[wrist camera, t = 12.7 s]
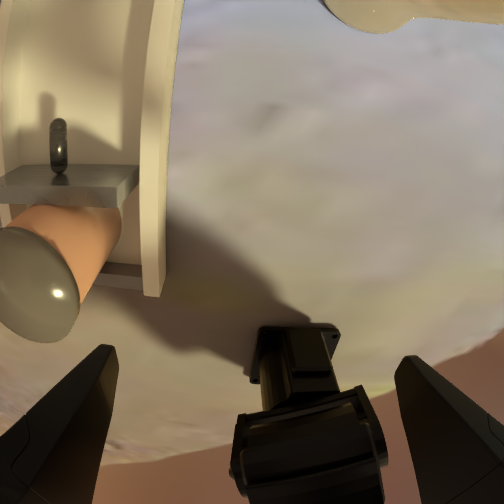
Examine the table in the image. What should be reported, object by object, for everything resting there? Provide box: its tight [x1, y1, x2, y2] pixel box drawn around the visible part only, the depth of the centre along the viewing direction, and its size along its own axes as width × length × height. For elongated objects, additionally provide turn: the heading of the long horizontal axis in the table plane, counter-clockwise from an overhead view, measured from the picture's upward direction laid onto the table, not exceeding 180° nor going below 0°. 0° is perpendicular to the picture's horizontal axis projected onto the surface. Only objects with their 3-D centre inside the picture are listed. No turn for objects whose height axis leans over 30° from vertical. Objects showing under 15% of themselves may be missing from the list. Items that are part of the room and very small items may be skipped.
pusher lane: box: [0, 0, 184, 297], centre depth 13 cm, size 20×11×6 cm, turn 173°
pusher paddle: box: [0, 118, 140, 208], centre depth 14 cm, size 4×8×4 cm, turn 83°
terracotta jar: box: [0, 205, 122, 343], centre depth 15 cm, size 6×6×8 cm
